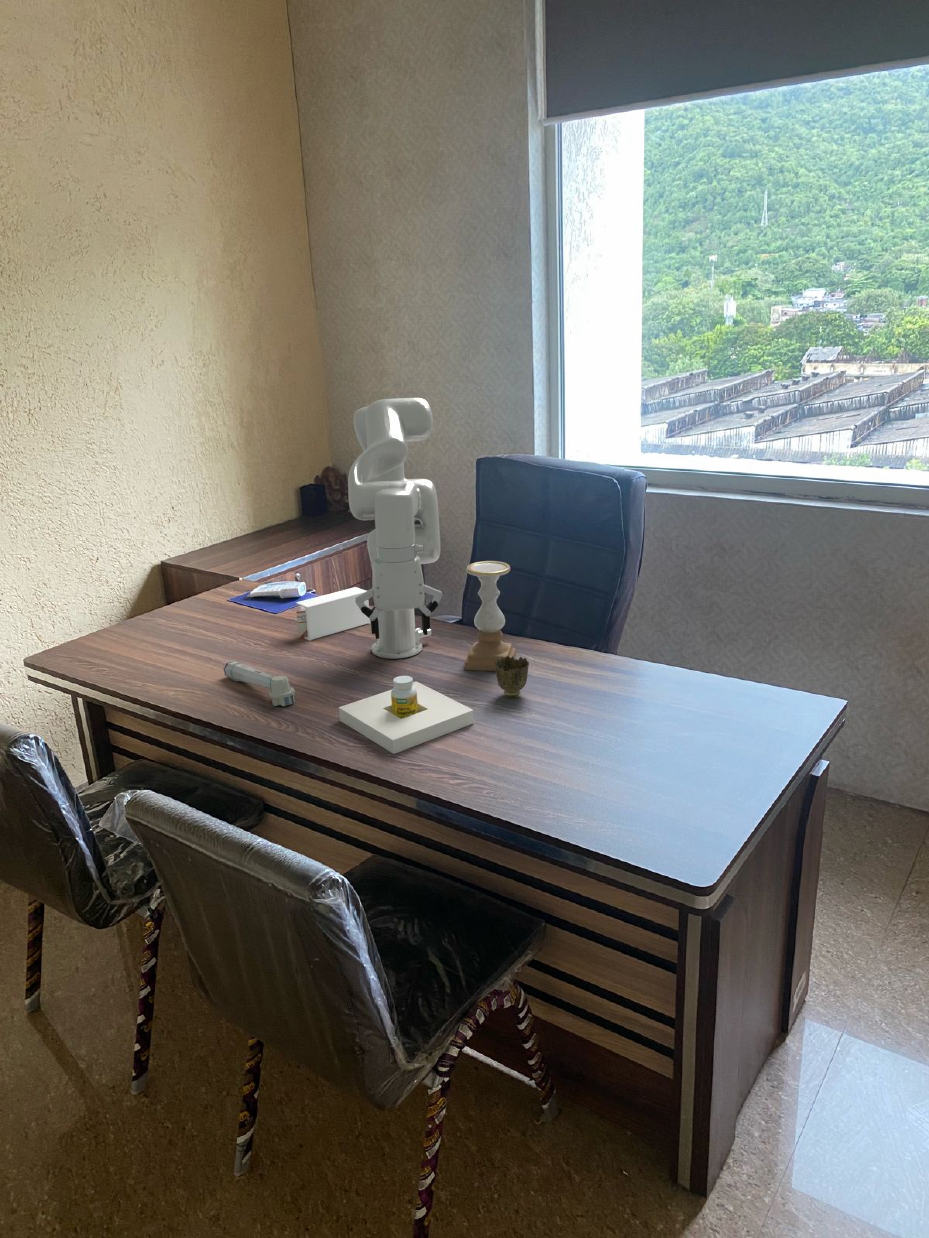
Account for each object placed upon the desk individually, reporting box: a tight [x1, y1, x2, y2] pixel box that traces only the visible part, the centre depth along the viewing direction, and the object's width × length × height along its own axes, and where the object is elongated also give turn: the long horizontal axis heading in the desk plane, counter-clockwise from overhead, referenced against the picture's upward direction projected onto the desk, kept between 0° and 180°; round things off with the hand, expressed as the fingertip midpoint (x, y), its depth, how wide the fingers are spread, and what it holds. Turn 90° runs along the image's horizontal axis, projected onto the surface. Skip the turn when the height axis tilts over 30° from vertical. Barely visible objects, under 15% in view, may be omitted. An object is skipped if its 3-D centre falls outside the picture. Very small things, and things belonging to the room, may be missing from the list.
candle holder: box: [464, 560, 517, 672], centre depth 215 cm, size 11×11×24 cm
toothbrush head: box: [223, 661, 296, 707], centre depth 207 cm, size 5×7×25 cm
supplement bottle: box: [391, 675, 418, 719], centre depth 188 cm, size 5×5×10 cm
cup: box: [494, 656, 530, 699], centre depth 199 cm, size 8×7×8 cm
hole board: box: [338, 680, 475, 755], centre depth 189 cm, size 20×20×3 cm
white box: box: [295, 586, 371, 642], centre depth 242 cm, size 20×6×9 cm, turn 130°
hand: (401, 634), depth 184 cm, fingers open, 9 cm apart
